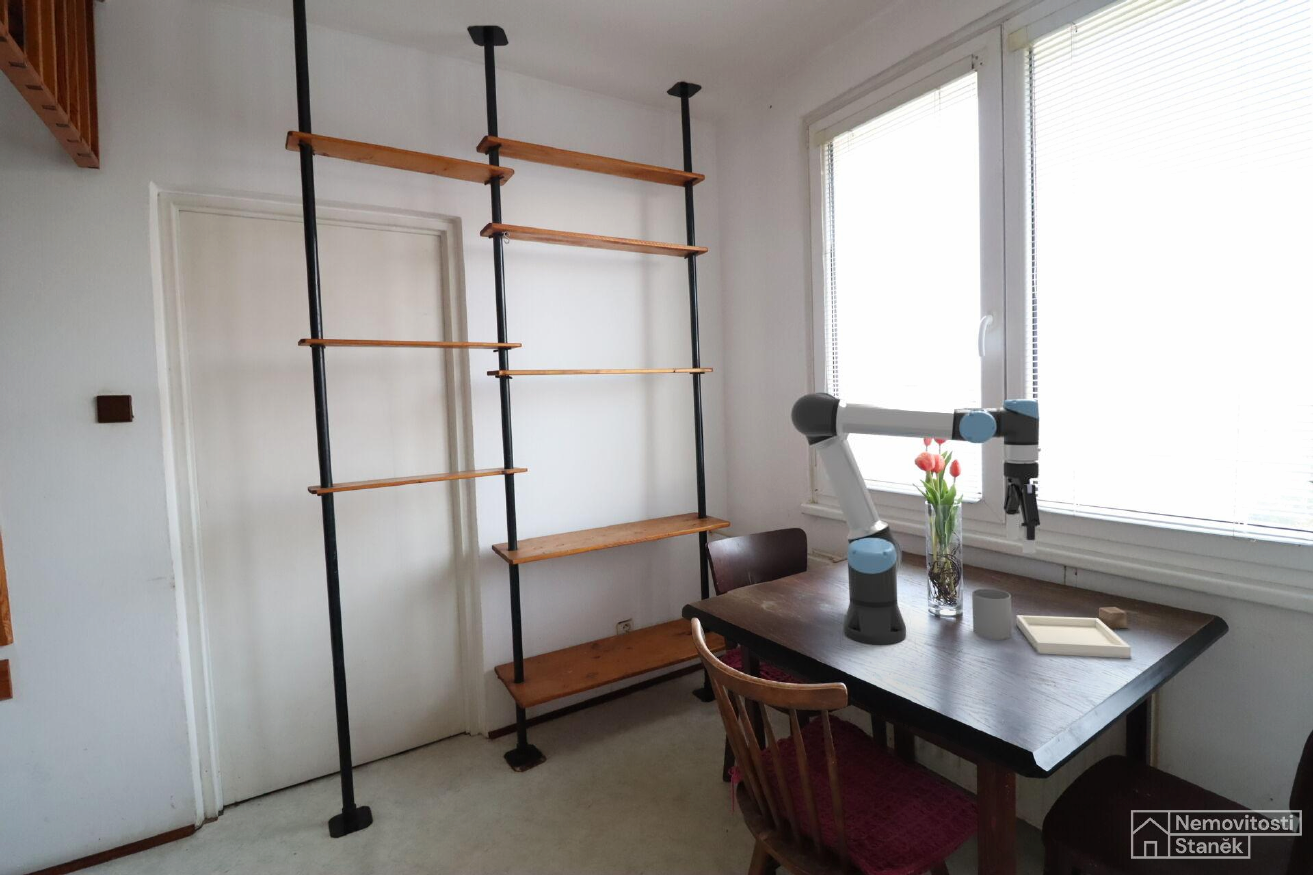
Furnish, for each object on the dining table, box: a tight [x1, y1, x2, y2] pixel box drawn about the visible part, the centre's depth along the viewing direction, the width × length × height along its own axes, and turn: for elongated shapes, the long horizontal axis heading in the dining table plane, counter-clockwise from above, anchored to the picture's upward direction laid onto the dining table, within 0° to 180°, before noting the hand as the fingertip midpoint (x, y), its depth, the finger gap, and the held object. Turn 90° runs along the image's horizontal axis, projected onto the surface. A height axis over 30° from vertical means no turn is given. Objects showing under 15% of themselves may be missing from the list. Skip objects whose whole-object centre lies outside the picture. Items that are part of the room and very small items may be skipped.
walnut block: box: [1098, 606, 1128, 630], centre depth 154 cm, size 4×4×4 cm
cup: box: [971, 588, 1013, 641], centre depth 154 cm, size 8×8×10 cm
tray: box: [1016, 614, 1132, 659], centre depth 147 cm, size 18×18×2 cm
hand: (1020, 545), depth 155 cm, fingers open, 13 cm apart
